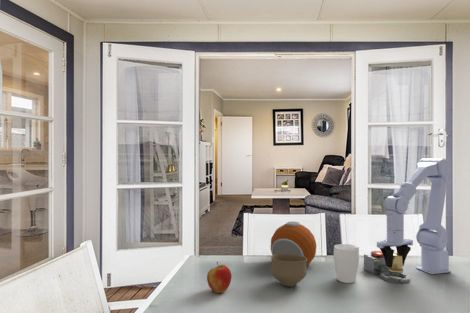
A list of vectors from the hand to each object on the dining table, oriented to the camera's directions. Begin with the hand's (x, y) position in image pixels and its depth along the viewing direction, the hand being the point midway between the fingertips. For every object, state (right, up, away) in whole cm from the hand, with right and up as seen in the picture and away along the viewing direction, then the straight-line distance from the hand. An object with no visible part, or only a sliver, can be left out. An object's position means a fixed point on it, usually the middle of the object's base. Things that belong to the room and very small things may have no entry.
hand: (394, 265), depth 131 cm
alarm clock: (-35, -5, +18) cm, 39 cm away
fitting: (0, -2, 0) cm, 2 cm away
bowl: (-40, -5, -6) cm, 41 cm away
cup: (-18, -5, -1) cm, 19 cm away
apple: (-64, -5, -12) cm, 66 cm away
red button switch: (-1, -5, +5) cm, 7 cm away
